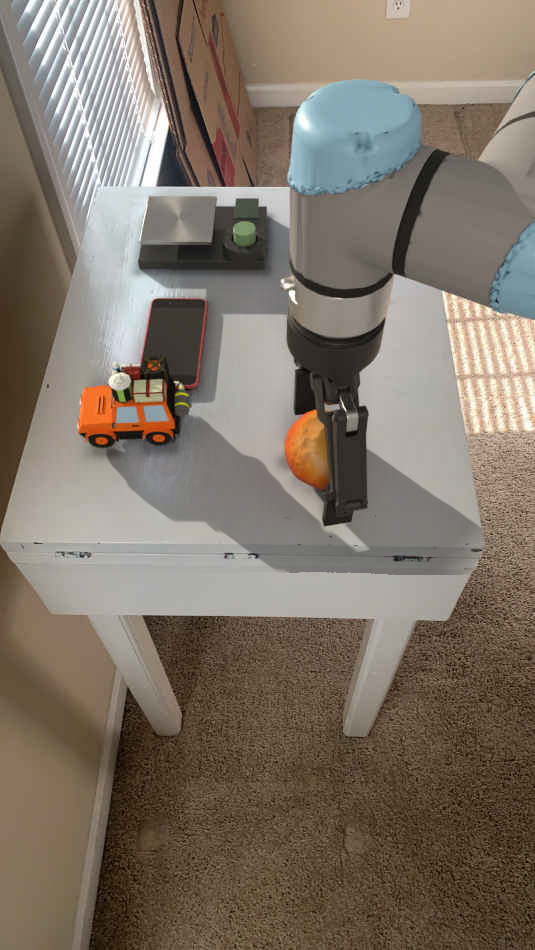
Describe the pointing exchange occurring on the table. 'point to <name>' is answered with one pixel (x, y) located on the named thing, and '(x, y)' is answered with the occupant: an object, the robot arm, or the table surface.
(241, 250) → the scale
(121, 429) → the toy car
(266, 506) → the table surface
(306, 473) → the fruit
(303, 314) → the robot arm
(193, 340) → the smartphone
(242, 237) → the tare button
